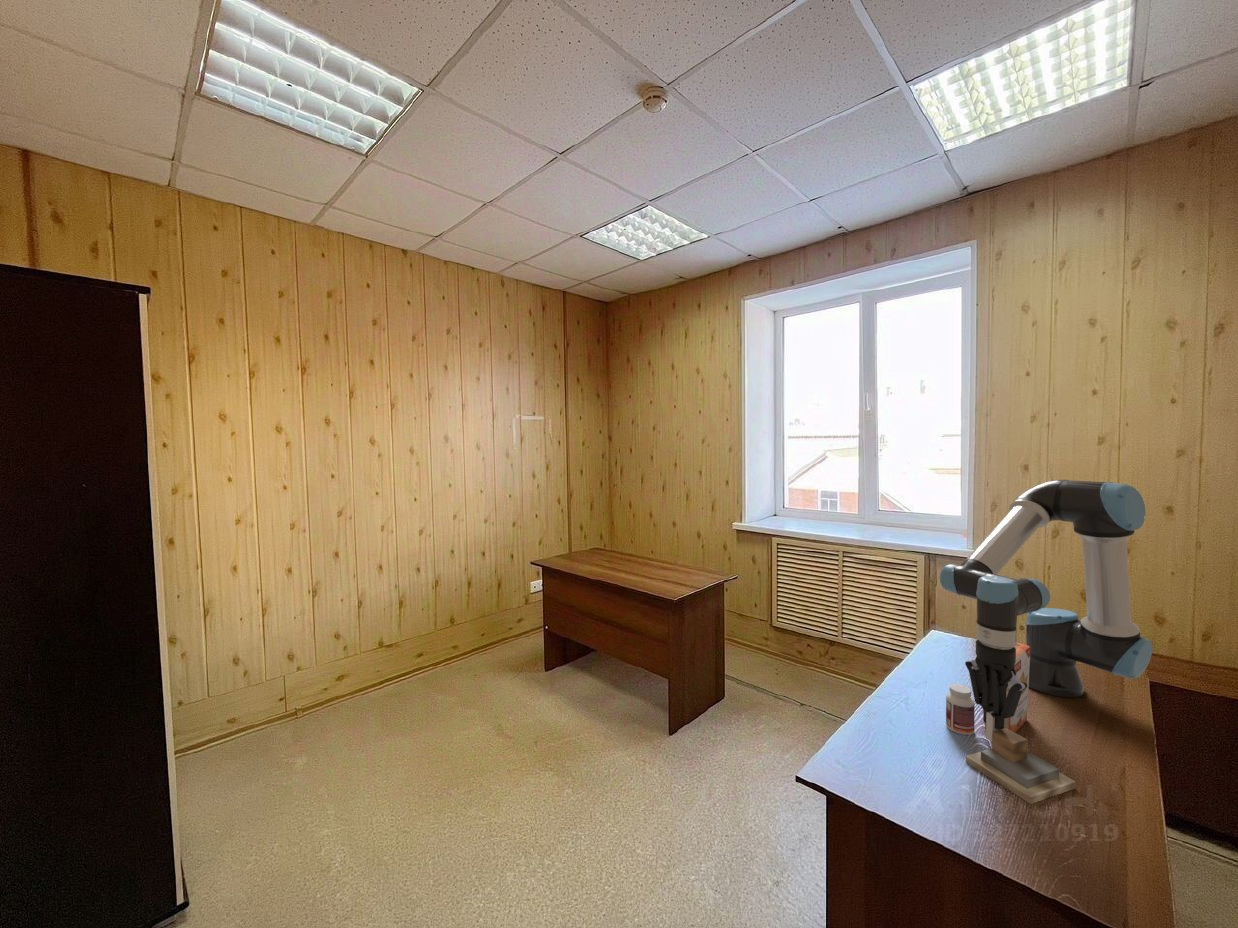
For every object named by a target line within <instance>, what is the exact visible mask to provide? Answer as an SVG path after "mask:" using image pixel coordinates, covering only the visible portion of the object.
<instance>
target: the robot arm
mask: <svg viewBox="0 0 1238 928" xmlns="http://www.w3.org/2000/svg"><path fill="white" fill-rule="evenodd" d="M1141 494H1142V493H1140V491H1138V489H1136V487H1134V486H1132V485H1130V484H1124V483H1115V482H1111V481H1090V480H1089V481H1088V480H1087V481H1086V480H1069V479H1054V480H1053V479H1052V480H1049V481H1046V482H1043V483H1039V484H1037V485H1035V486H1033V487H1031V488H1029V489H1027V490H1024V492H1022V493H1021V494H1020V495H1019V496H1017V497H1016V498H1015V499H1014V500H1013V501H1012V502H1011V503H1010V504H1009V506H1008V507H1009V508H1008V509H1009V511H1008V513H1007V514H1006V515H1005V516H1004V517H1003V518H1002V519H1001V520H1000V521H999V523H997V525H996V526H995V527H994V528H993V529H992V530H991V531H990V533H988V535H986V537H985V538H984V539H983V540H982V541H981V542H980V543H979V545H977V546H976V548H975V549H974V550H973V551H972V552H971V553H970V554H969V555H968V557H966V559H964V560H963V561H962V563H960V565H958V564H946V565H945V566H944V567H942V569H941V571H940V573H939V582H940V583H939V584H940V585H941V587H942V588H943V590H945V591H948V592H950V593H953V594H956V595H958V596H962V597H966V598H970V599H974V600H976V627H975V628H976V629H975V631H976V632H975V638H976V640H975V656H976V657H975V659H972V660H967V661H965V662H964V663H965V666H966V668H967V670H968V674H969V677H970V685H971V688H972V689H971V690H972V694H973V698H974V699H973V700H974V703H975V704H976V705H979V706H980V707H981V708H982V711H983V718H982V720H983V723H984V724H985V723H986V729H985V739H986V740H987V741H989V742H990V743H993V732H996V731H999V730H1002V729H1003V728H1004V718H1009V717H1013V716H1014V714H1015V711H1016V708H1017V706H1018V703H1019V700H1020V697H1021V694H1022V691H1023V690H1024V689H1026V688H1027V684H1026V683H1025V682H1021V681H1020V680H1019V679H1018V678H1017V677H1016V672H1015V670H1014V665H1015V662H1016V648H1015V646H1016V643H1017V633H1018V632H1017V631H1018V630H1017V623H1018V622H1017V621H1018V619H1017V618H1018V616H1021V615H1025V614H1027V615H1026V620H1025V645H1027V646H1030V647H1031V648H1030V666H1029V687H1028V688H1029V689H1033V690H1034V691H1037V692H1040V693H1043V694H1045V695H1051V696H1055V697H1060V698H1078V697H1081V696H1084V690H1085V689H1084V688H1085V686H1084V682H1083V680H1082V677H1081V675H1080V672H1079V668H1078V667H1077V662H1078V663H1081V664H1083V665H1087V666H1089V667H1093V668H1095V669H1098V670H1102V671H1106V672H1108V673H1110V674H1112V675H1118V676H1121V677H1123V678H1127V679H1136V678H1138V677H1140V676H1141V675H1142V674H1144V672H1145V671H1146V669H1147V667H1148V665H1149V663H1150V661H1151V657H1152V655H1153V643H1152V641H1151V640H1150V639H1148V638H1146V637H1144V636H1143V637H1142V636H1141V628H1140V627H1139V626H1138V624H1136V623H1135V622H1133V621H1132V611H1131V594H1130V593H1131V592H1130V590H1131V589H1130V577H1129V575H1130V574H1129V560H1128V559H1129V557H1128V556H1129V555H1128V542H1127V540H1128V539H1129V538H1131V537H1132V536H1134V535H1135V534H1136V532H1135V531H1137V530H1140V529H1141V528H1142V527H1143V525H1144V523H1145V516H1146V504H1145V502H1144V501H1145V500H1144V499H1143V496H1142V495H1141ZM1052 521H1053V522H1054V521H1061V522H1067V523H1072V524H1073V525H1072V526H1073V532H1074V533H1075V534H1077V536H1079V537H1081V545H1082V557H1083V558H1082V559H1083V572H1084V585H1085V586H1084V587H1085V599H1086V600H1085V601H1086V612H1087V615H1086V616H1083V618H1081V619H1080V617H1079V615H1078V613H1076V612H1074V611H1071V610H1068V609H1061V608H1054V607H1046V606H1048V605H1049V603H1050V600H1051V593H1050V590H1049V589H1048V588H1047V586H1046V584H1044V583H1043V582H1041V581H1040V580H1038V579H1035V578H1031V577H1029V578H1025V577H1024V578H1023V577H1022V578H1019V579H1016V578H1012V577H1008V576H1004V575H999V573H1000V572H1001V571H1002V570H1003V568H1004V567H1005V566H1006V565H1007V564H1008V563H1009V561H1011V560H1012V559H1013V557H1014V556H1015V555H1016V554H1017V553H1018V552H1019V551H1020V549H1021V548H1022V547H1023V546H1024V544H1026V542H1027V541H1028V540H1030V538H1031V537H1032V536H1033V535H1034V533H1035V532H1036V531H1037V530H1038V529H1039V528H1043V527H1046V526H1047V525H1048V524H1049V523H1050V522H1052ZM1079 619H1080V620H1079ZM1009 681H1011V684H1010V686H1011V688H1010V689H1009V692H1008V695H1007V698H1006V689H1007V687H1008V682H1009Z"/></svg>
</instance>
